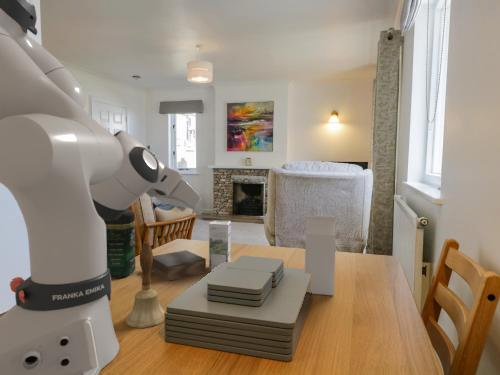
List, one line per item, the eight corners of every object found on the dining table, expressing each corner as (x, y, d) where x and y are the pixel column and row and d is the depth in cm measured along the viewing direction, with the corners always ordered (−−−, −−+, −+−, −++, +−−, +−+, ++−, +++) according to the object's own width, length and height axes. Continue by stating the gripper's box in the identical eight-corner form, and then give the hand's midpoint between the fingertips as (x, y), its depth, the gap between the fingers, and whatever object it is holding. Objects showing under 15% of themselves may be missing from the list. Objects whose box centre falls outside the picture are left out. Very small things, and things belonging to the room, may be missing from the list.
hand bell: (127, 312, 74) (126, 239, 73) (167, 308, 76) (166, 237, 75) (123, 330, 66) (121, 248, 65) (167, 325, 68) (166, 246, 67)
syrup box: (231, 266, 107) (231, 220, 106) (227, 272, 101) (228, 223, 100) (212, 265, 107) (212, 219, 106) (208, 271, 101) (208, 223, 100)
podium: (167, 280, 94) (167, 266, 93) (150, 269, 103) (149, 256, 103) (205, 272, 101) (205, 258, 101) (186, 262, 110) (186, 250, 110)
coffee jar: (129, 278, 95) (128, 211, 94) (100, 279, 95) (98, 211, 93) (139, 267, 105) (137, 207, 103) (112, 268, 104) (110, 207, 103)
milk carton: (333, 296, 84) (336, 218, 83) (304, 293, 86) (306, 217, 84) (332, 285, 91) (334, 214, 90) (305, 283, 92) (307, 213, 91)
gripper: (134, 187, 99) (168, 215, 106) (167, 192, 83) (204, 225, 90) (148, 170, 101) (180, 199, 108) (182, 172, 85) (217, 205, 92)
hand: (191, 211), depth 99 cm, fingers open, 8 cm apart
